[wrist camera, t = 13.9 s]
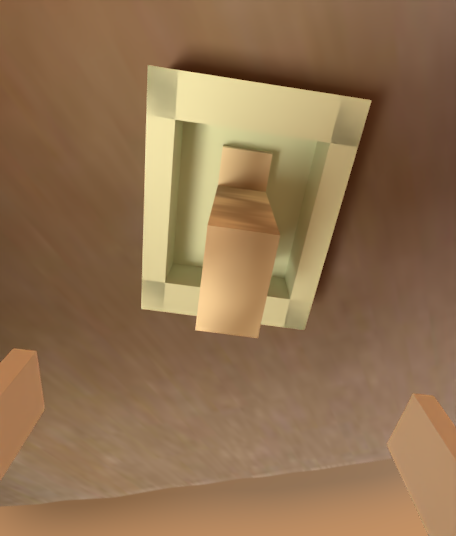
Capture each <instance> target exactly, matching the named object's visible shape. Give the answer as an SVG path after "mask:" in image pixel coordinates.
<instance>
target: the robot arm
mask: <svg viewBox="0 0 456 536" xmlns="http://www.w3.org/2000/svg"><path fill="white" fill-rule="evenodd" d="M44 410H45V406H44V399H43V392H42V385H41V378H40V371H39V364H38V357H37V351H33V350H24V349H15V348H13V349H12V350H11V351H10V353H9V354H8V355H7V356H6V357H5V358H4V359H3V360H2V361H1V362H0V481H1V479H2V478H3V476H4V474H5V473H6V471H7V469H8V468H9V466H10V465H11V463H12V461H13V460H14V458H15V457H16V455H17V453H18V452H19V450H20V449H21V447H22V445H23V444H24V442H25V441H26V439H27V437H28V436H29V434H30V433H31V431H32V429H33V428H34V426H35V424H36V423H37V421H38V420H39V418H40V416H41V415H42V413H43V412H44ZM387 447H388V449H389V451H390V454H391V456H392V458H393V460H394V462H395V464H396V467H397V469H398V471H399V473H400V475H401V477H402V479H403V482H404V484H405V486H406V488H407V490H408V493H409V495H410V497H411V499H412V501H413V503H414V506H415V507H416V510H417V512H418V514H419V516H420V519H421V521H422V523H423V525H424V527H425V529H426V532H427V534H428V536H456V427H455V425H454V424H453V422H452V421H451V420H450V418H449V417H448V415H447V414H446V413H445V411H444V410H443V408H442V407H441V405H440V404H439V403H438V401H437V400H436V398H435V397H434V396H432V395H423V394H415V393H413V394H412V396H411V398H410V400H409V402H408V404H407V406H406V408H405V410H404V412H403V414H402V415H401V417H400V419H399V421H398V423H397V425H396V427H395V429H394V431H393V433H392V435H391V437H390V439H389V441H388V443H387Z"/></svg>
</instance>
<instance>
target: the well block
mask: <svg viewBox="0 0 456 536" xmlns="http://www.w3.org/2000/svg"><path fill="white" fill-rule="evenodd" d="M371 101H372V100H367V99H361V98H354V97H348V96H341V95H335V94H329V93H322V92H316V91H309V90H303V89H297V88H290V87H284V86H278V85H271V84H265V83H258V82H252V81H246V80H239V79H233V78H226V77H220V76H214V75H207V74H201V73H194V72H188V71H182V70H175V69H169V68H162V67H156V66H150V65H148V76H147V112H146V149H145V186H144V222H143V259H142V296H141V309H147V310H154V311H162V312H170V313H177V314H185V315H193V316H197V311H198V302H199V294H200V285H201V277H202V268H203V259H204V251H205V242H206V233H207V225H208V221H209V217H210V213H211V210H212V206H213V202H214V198H215V194H216V190H217V187H218V181H219V172H220V164H221V156H222V148H223V145H227V146H234V147H241V148H248V149H254V150H261V151H268V152H271V153H272V154H273V156H272V161H271V166H270V172H269V177H268V182H267V188H266V194H267V197H268V200H269V203H270V206H271V209H272V212H273V215H274V218H275V221H276V224H277V227H278V230H279V233H280V239H279V244H278V248H277V253H276V257H275V262H274V267H273V271H272V276H271V280H270V285H269V289H268V294H267V298H266V303H265V308H264V312H263V317H262V321H261V324H262V325H269V326H277V327H285V328H292V329H300V330H305V327H306V323H307V320H308V316H309V313H310V309H311V306H312V303H313V299H314V296H315V292H316V289H317V285H318V282H319V279H320V275H321V272H322V268H323V265H324V261H325V258H326V255H327V251H328V248H329V244H330V241H331V238H332V234H333V231H334V227H335V224H336V220H337V217H338V214H339V210H340V207H341V203H342V200H343V196H344V193H345V190H346V186H347V183H348V179H349V176H350V173H351V169H352V166H353V162H354V159H355V155H356V152H357V149H358V145H359V142H360V138H361V135H362V131H363V128H364V125H365V121H366V118H367V114H368V111H369V108H370V104H371Z"/></svg>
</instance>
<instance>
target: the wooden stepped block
mask: <svg viewBox="0 0 456 536" xmlns="http://www.w3.org/2000/svg"><path fill="white" fill-rule="evenodd" d="M272 156H273V154H272V153H271V152H268V151H261V150H254V149H248V148H241V147H234V146H227V145H223V148H222V156H221V164H220V172H219V181H218V187H217V190H216V194H215V198H214V202H213V206H212V210H211V213H210V217H209V221H208V225H207V233H206V242H205V251H204V259H203V268H202V277H201V285H200V294H199V302H198V311H197V320H196V328H195V330H198V331H206V332H214V333H222V334H229V335H237V336H245V337H253V338H258V335H259V330H260V326H261V321H262V317H263V312H264V308H265V303H266V298H267V294H268V289H269V285H270V280H271V276H272V271H273V267H274V262H275V257H276V253H277V248H278V244H279V239H280V233H279V230H278V227H277V224H276V221H275V218H274V215H273V212H272V209H271V206H270V203H269V200H268V197H267V194H266V188H267V182H268V177H269V172H270V166H271V161H272Z"/></svg>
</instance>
